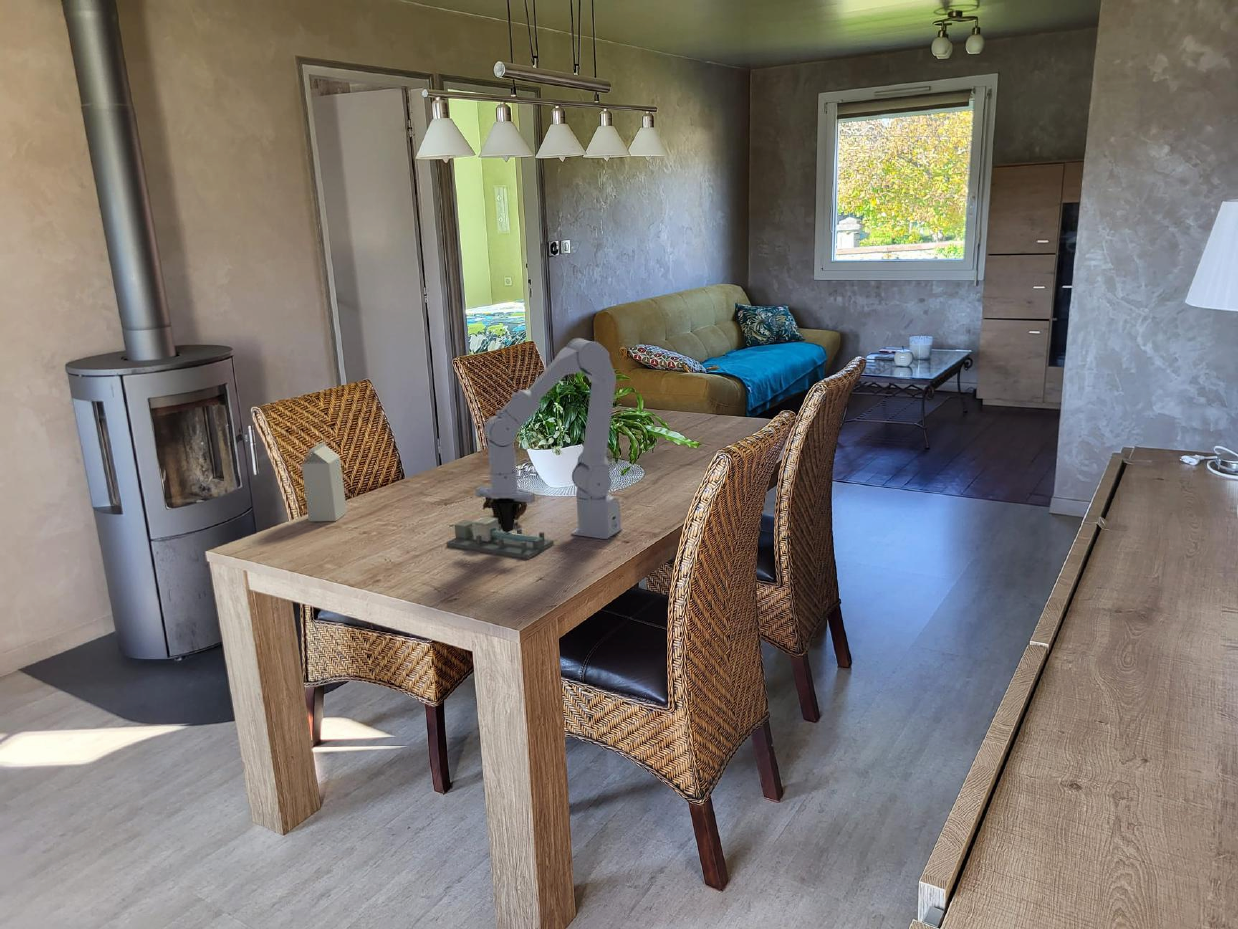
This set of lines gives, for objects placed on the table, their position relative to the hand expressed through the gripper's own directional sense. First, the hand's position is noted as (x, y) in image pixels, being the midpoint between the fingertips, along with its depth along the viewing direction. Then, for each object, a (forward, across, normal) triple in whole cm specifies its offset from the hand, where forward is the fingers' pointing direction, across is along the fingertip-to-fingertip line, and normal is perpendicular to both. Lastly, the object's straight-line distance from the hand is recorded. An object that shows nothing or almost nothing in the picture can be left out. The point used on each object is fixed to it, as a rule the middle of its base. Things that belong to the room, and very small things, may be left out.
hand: (507, 530), depth 202 cm
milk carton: (+4, -56, 0) cm, 57 cm away
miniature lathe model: (+4, -2, 0) cm, 4 cm away
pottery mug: (+4, -12, +15) cm, 20 cm away
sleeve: (+2, -6, 0) cm, 7 cm away
